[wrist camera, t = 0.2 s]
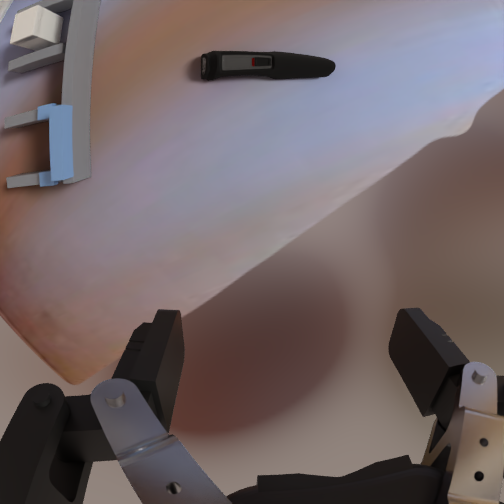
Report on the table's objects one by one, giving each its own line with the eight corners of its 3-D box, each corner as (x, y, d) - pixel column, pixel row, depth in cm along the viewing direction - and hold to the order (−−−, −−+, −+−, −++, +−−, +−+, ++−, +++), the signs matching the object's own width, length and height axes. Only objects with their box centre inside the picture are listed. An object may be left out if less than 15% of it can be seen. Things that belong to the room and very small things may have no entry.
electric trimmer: (328, 85, 34) (336, 81, 31) (201, 82, 33) (198, 77, 30) (328, 57, 32) (335, 51, 29) (201, 54, 32) (198, 47, 29)
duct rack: (30, 16, 26) (2, 5, 19) (103, -8, 27) (80, -28, 20) (21, 184, 36) (-10, 195, 29) (92, 177, 36) (64, 187, 29)
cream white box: (42, 25, 27) (15, 14, 21) (63, 18, 27) (38, 4, 21) (38, 51, 29) (9, 43, 22) (59, 44, 29) (32, 34, 23)
